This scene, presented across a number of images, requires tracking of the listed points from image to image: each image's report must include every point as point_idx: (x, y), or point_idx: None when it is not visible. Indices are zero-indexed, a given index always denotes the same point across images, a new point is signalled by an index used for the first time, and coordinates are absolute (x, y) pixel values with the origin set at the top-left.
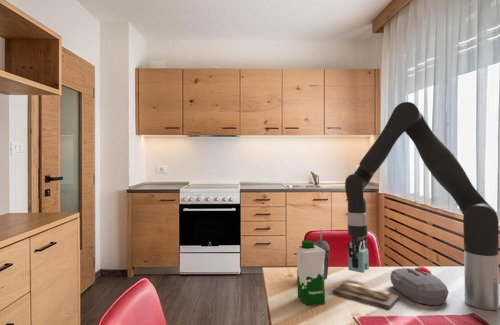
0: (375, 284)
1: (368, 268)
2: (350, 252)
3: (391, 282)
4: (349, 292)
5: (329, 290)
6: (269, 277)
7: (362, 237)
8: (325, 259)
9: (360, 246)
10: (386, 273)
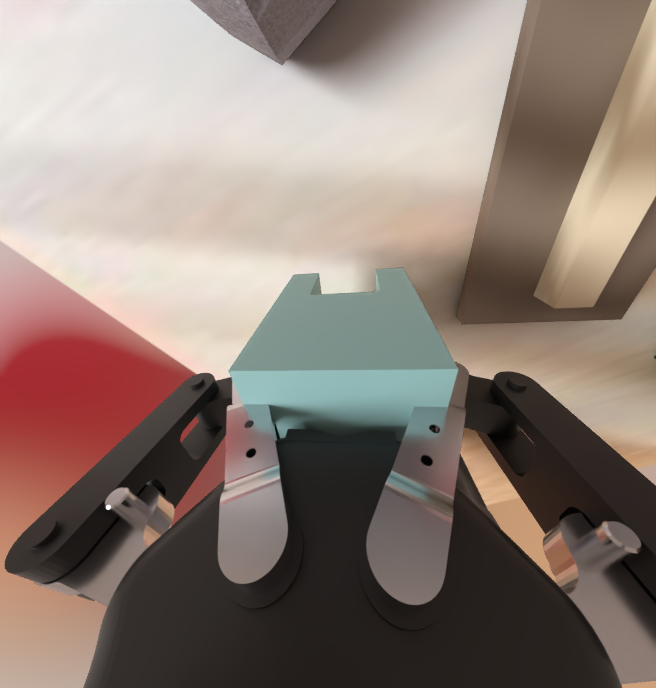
0: (338, 194)
1: (298, 276)
2: (521, 458)
3: (289, 55)
4: (639, 230)
5: (559, 338)
6: (502, 499)
7: (184, 663)
8: (463, 484)
9: (409, 470)
10: (130, 230)
